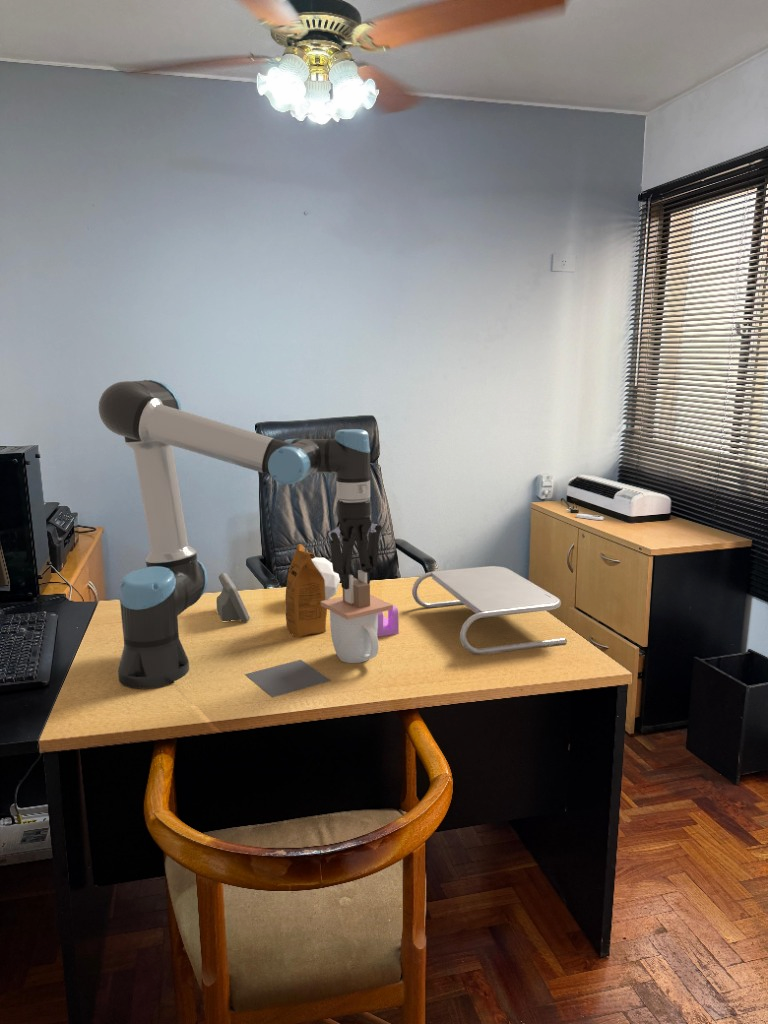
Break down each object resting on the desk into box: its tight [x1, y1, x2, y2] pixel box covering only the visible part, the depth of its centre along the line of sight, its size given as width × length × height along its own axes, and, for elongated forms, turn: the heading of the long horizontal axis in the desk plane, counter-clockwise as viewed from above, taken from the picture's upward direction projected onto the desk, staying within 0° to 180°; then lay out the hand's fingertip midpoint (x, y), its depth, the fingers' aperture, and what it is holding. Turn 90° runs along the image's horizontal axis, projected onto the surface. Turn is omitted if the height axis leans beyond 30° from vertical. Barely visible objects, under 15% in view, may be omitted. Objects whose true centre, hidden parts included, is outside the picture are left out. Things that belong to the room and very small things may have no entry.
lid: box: [321, 577, 394, 620], centre depth 164 cm, size 12×12×6 cm
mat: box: [244, 659, 332, 698], centre depth 158 cm, size 14×14×1 cm
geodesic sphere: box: [311, 556, 341, 600], centre depth 209 cm, size 14×14×14 cm
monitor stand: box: [411, 565, 568, 655], centre depth 189 cm, size 37×28×11 cm
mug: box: [329, 610, 379, 664], centre depth 166 cm, size 15×11×13 cm
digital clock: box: [216, 572, 251, 623], centre depth 199 cm, size 16×9×11 cm, turn 11°
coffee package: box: [285, 543, 328, 638], centre depth 186 cm, size 10×12×22 cm
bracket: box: [377, 605, 400, 638], centre depth 189 cm, size 13×6×7 cm, turn 21°
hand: (356, 600), depth 165 cm, fingers open, 3 cm apart
